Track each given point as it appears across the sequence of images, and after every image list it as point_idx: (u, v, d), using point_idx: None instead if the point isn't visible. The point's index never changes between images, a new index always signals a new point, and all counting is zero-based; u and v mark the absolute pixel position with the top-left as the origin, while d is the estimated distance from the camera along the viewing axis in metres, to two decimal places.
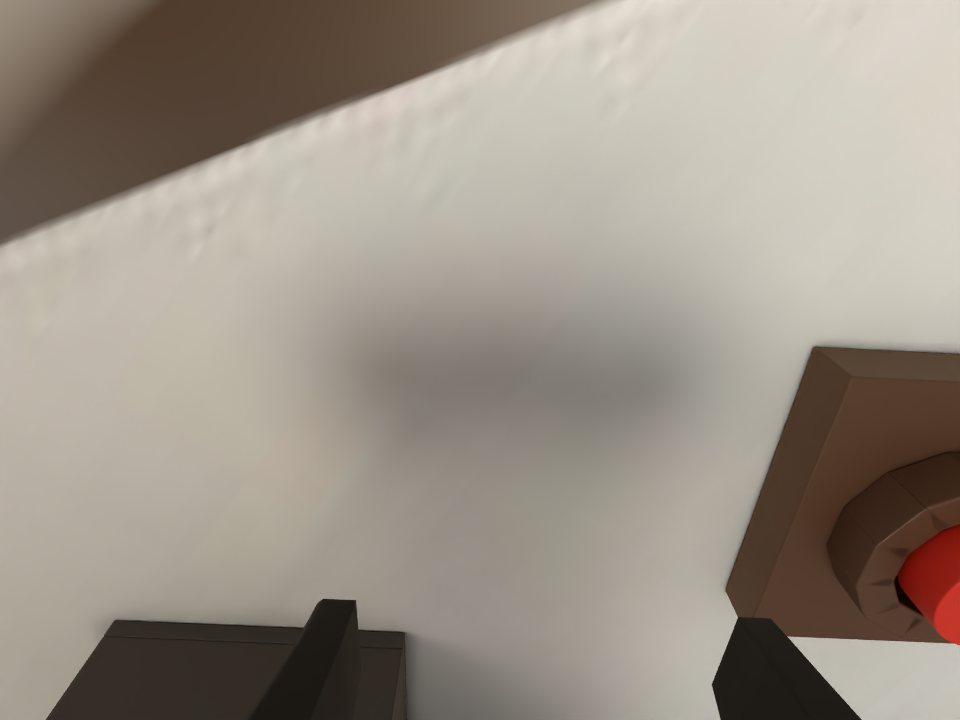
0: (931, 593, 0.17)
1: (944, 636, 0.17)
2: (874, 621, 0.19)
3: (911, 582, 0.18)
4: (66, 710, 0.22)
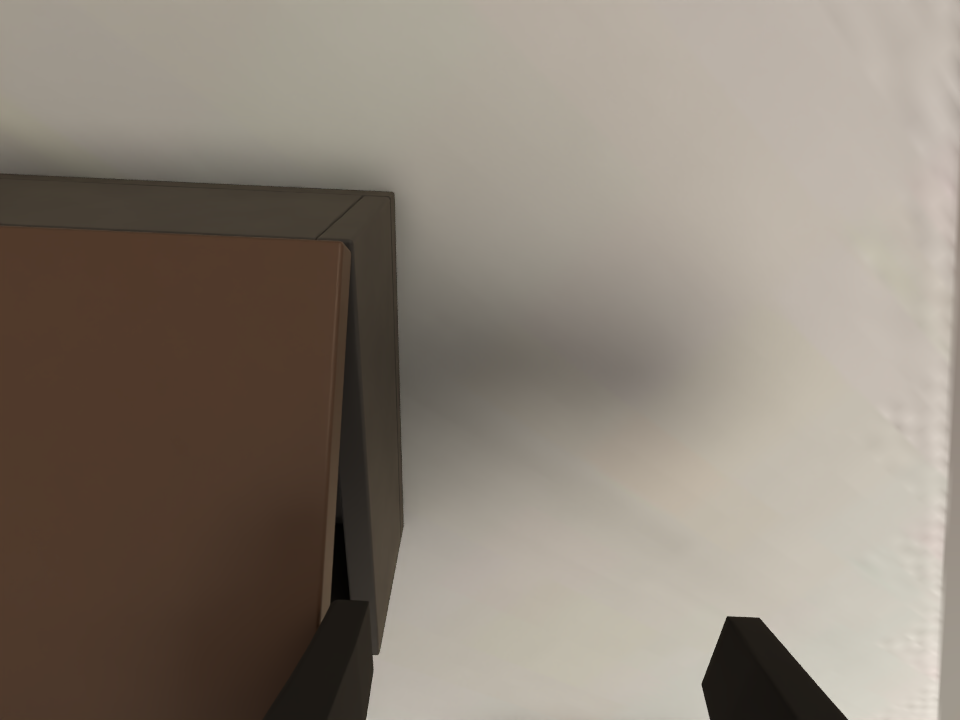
0: None
1: None
2: None
3: None
4: (370, 246, 0.13)
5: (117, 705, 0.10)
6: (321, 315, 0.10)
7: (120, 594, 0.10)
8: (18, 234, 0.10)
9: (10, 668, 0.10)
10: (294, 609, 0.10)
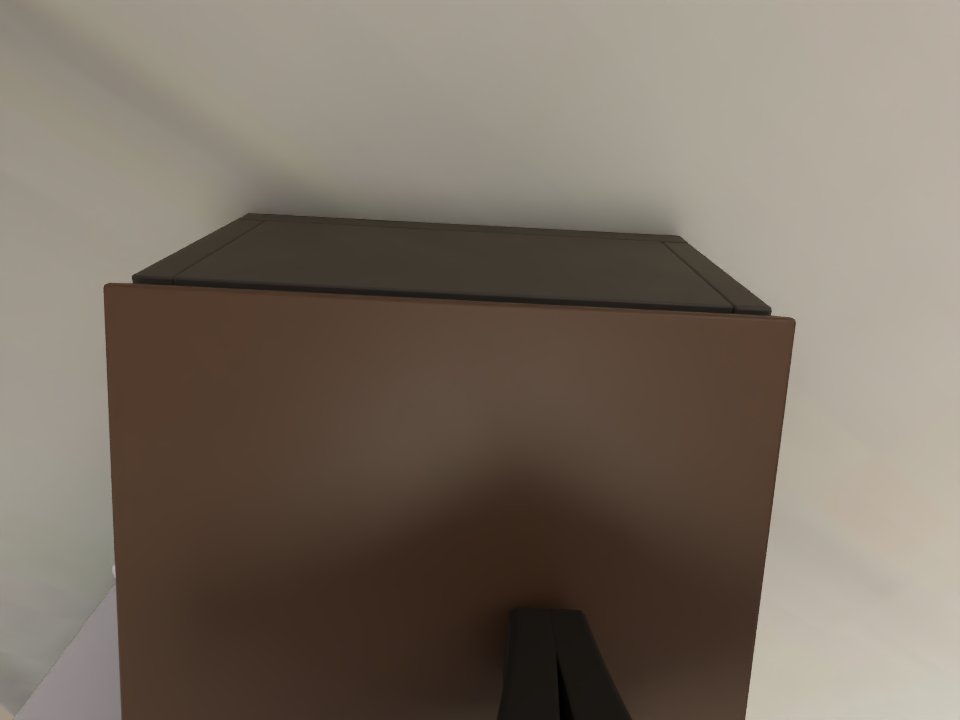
0: None
1: None
2: None
3: None
4: None
5: None
6: (769, 397, 0.10)
7: None
8: (453, 310, 0.10)
9: (469, 716, 0.11)
10: (728, 669, 0.11)
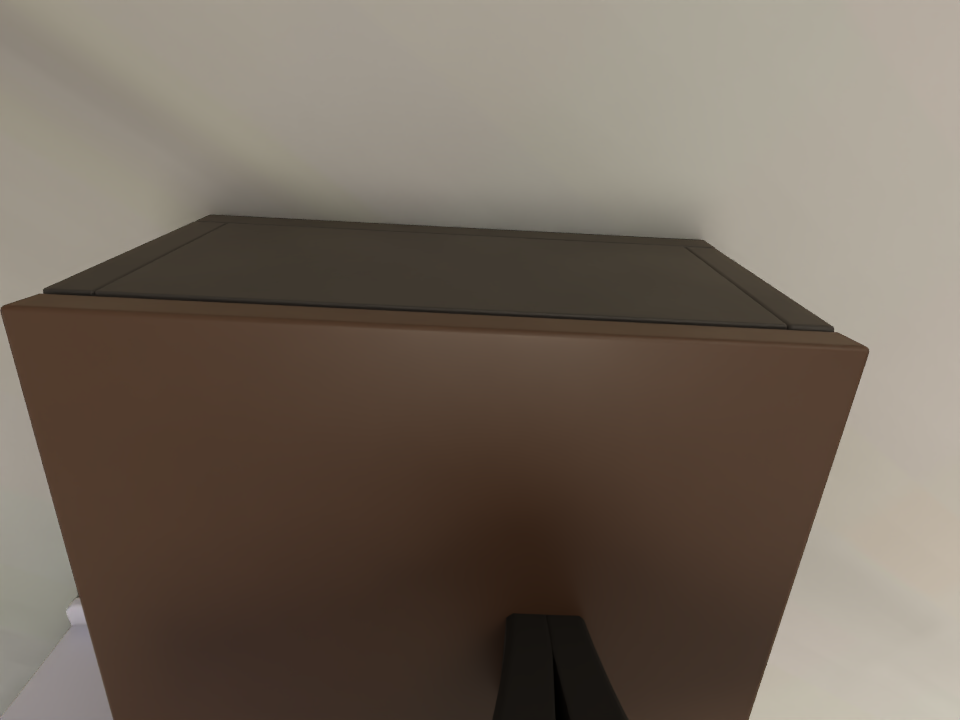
0: None
1: None
2: None
3: None
4: None
5: None
6: (821, 436, 0.08)
7: None
8: (442, 338, 0.08)
9: None
10: (735, 690, 0.10)
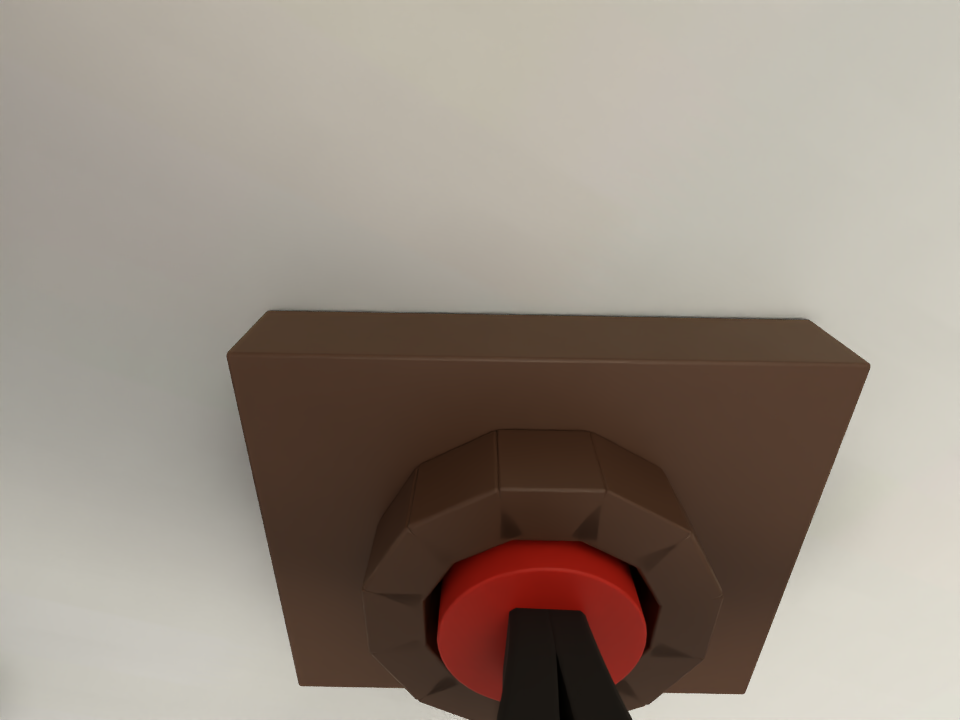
0: (546, 552, 0.10)
1: (462, 599, 0.10)
2: (401, 542, 0.10)
3: None
4: None
5: None
6: None
7: None
8: None
9: None
10: None
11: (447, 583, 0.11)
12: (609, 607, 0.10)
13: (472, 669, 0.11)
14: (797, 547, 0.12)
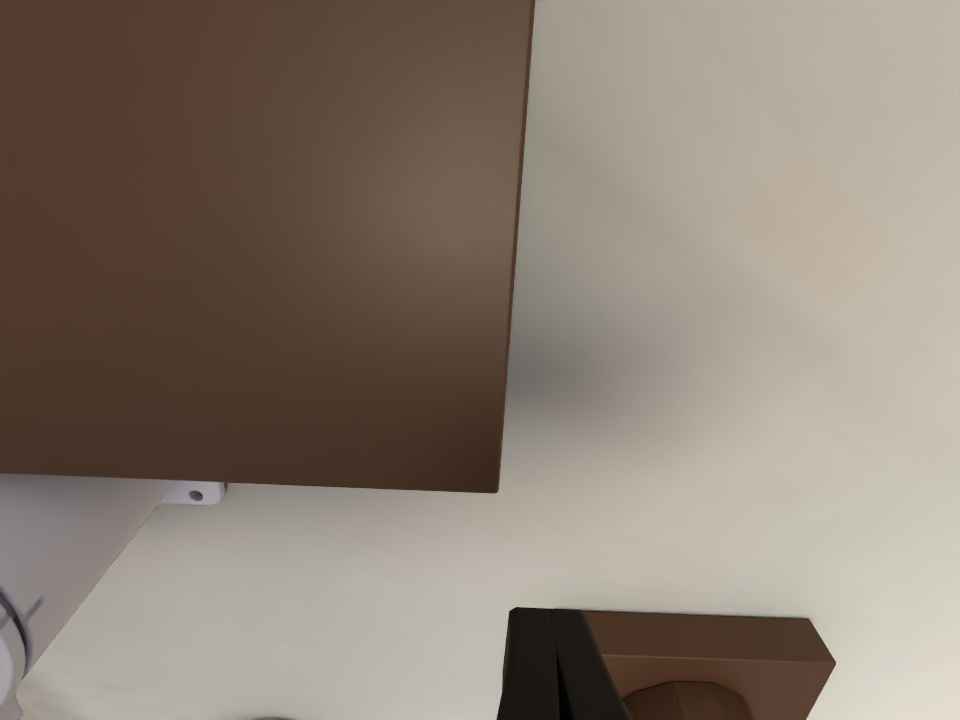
0: None
1: None
2: None
3: None
4: None
5: (317, 229, 0.10)
6: None
7: (303, 108, 0.09)
8: None
9: (201, 190, 0.09)
10: (497, 128, 0.09)
11: None
12: None
13: None
14: None
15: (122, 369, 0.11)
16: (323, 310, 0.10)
